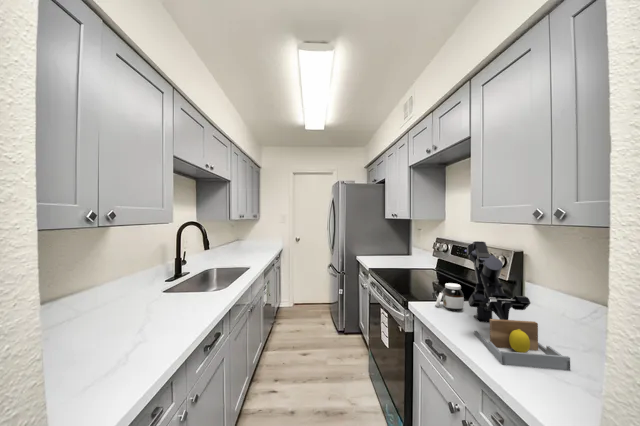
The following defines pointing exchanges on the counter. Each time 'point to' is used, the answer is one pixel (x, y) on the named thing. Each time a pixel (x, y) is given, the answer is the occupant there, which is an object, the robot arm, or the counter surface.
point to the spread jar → (452, 297)
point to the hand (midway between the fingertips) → (506, 324)
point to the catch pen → (529, 357)
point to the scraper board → (504, 327)
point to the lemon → (519, 341)
